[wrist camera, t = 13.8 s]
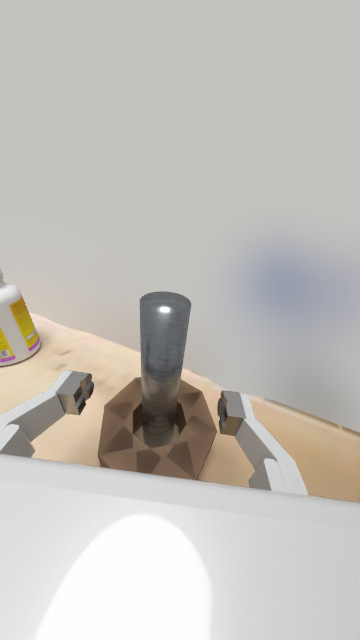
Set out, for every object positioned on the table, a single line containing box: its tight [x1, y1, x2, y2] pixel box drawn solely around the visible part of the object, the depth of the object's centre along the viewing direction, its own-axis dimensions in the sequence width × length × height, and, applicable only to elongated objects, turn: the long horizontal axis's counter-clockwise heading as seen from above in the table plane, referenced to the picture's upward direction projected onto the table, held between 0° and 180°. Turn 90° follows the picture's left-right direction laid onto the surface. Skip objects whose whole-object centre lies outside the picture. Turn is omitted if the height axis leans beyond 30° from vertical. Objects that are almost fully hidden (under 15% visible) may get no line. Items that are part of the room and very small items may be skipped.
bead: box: [98, 377, 217, 480], centre depth 18 cm, size 10×10×4 cm
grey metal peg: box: [140, 292, 191, 449], centre depth 14 cm, size 3×3×16 cm
